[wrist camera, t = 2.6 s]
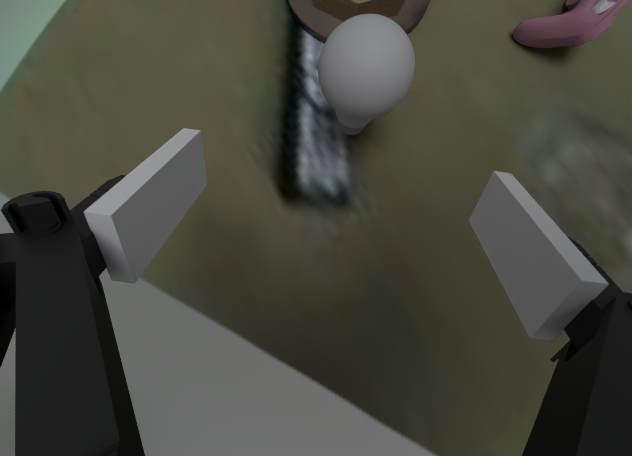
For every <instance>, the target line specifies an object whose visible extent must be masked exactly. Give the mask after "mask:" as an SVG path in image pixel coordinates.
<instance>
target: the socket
mask: <svg viewBox="0 0 632 456" xmlns="http://www.w3.org/2000/svg"><path fill="white" fill-rule="evenodd" d="M429 2H430V0H287V3H288V6H289V8H290V11H291V12H292V14H293V16H294V18H295V19H296V20H297V22H298V23H299V24H300V25H301V26H302V27H303V28H304V29H305V30H306V31H307V32H308V33H309V34H311V35H312V36H313V37H314V38H316V39H318V40H320V41H321V42H323V43H325V42H326V41H327V39H328V37H329V36H330V34H331V33H332V32H333V31H334V30H335V28H336V27H338V26H339V25H340V24H342V23H343V22H344V21H346V20H348V19H350V18H352V17H354V16H357V15H361V14H379V15H382V16H385V17H387V18H389V19H391V20H393V21H394V22H396V23H397V24H398V25H399V26H400V27H401V28H402V29H403V30H404V31H405V33H406V34H408V33H410V32H411V31H412V30H413V29H414V28H415V26H416V25H417V24H418V23H419V21H420V20H421V18H422V17H423V15H424V13H425V11H426V8H427V6H428V4H429Z"/></svg>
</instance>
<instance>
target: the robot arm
mask: <svg viewBox="0 0 632 456" xmlns="http://www.w3.org/2000/svg"><path fill="white" fill-rule="evenodd" d="M206 185H207V181H206V172H205V163H204V155H203V146H202V137H201V131H200V130H193V129H186V128H183V129H182V130H181V131H180V132H178V133H177V134H176V135H175V136H174V137H172V138H171V139H170V140H169V141H168V142H166V143H165V144H164V145H163V146H162V147H160V148H159V149H158V150H157V151H156V152H154V153H153V154H152V155H151V156H150V157H148V158H147V159H146V160H145V161H144V162H142V163H141V164H140V165H139V166H138V167H136V168H135V169H134V170H133V171H132V172H130V173H129V174H128V175H127V176H124V175H120V176H118V177H116V178H113V179H111V180H109V181H107V182H106V183H104V184H103V185H102V186H100V187H99V188H98V190H95V191H94V192H93V193H92V194H90V197H89V196H88V197H86V198H85V199H84V200H83V201H81V202H80V203H79V204H78V205H76V206H75V207H74V208H73V209H71V210H70V211H69V209H68V206H67V204H66V202H65V199H64V198H63V196H62V195H61V194H59V193H56V192H51V191H39V192H32V193H28V194H24V195H20V196H18V197H16V198H13V199H11V200H10V201H8V202H7V203H6V204H4V205H3V207H2V209H1V211H2V213H3V215H4V216H5V218H6V219H7V221H8V223H9V224H10V226H11V228H12V229H13V231H14V233H5V234H0V367H1V365H2V362H3V359H4V357H5V354H6V351H7V349H8V346H9V343H10V341H11V338H12V335H13V333H14V330H15V328H16V403H15V404H16V406H15V408H16V409H15V411H16V414H15V416H16V417H15V425H16V426H15V428H16V429H15V456H145V454H144V450H143V446H142V442H141V438H140V434H139V430H138V426H137V422H136V418H135V414H134V410H133V406H132V402H131V398H130V394H129V390H128V386H127V382H126V378H125V374H124V370H123V366H122V362H121V358H120V354H119V350H118V346H117V342H116V338H115V334H114V331H113V327H112V322H111V318H110V314H109V310H108V307H107V302H106V298H105V294H104V291H103V287H102V283H101V281H100V278H99V275H100V274H101V273H102V272H103V271H104V270H105V269H106V268H107V270H108V273H109V275H110V277H111V280H114V281H121V282H127V283H135V282H136V281H137V280H138V278H139V277H140V276H141V274H142V273H143V272H144V270H145V269H146V267H147V266H148V265H149V263H150V262H151V261H152V259H153V258H154V256H155V255H156V254H157V252H158V251H159V250H160V248H161V247H162V246H163V244H164V243H165V241H166V240H167V239H168V237H169V236H170V235H171V233H172V232H173V230H174V229H175V228H176V226H177V225H178V224H179V222H180V221H181V220H182V218H183V217H184V215H185V214H186V213H187V211H188V210H189V209H190V207H191V206H192V205H193V203H194V202H195V200H196V199H197V198H198V196H199V195H200V194H201V192H202V191H203V189H204V188H205V187H206ZM469 222H470V224H471V226H472V228H473V230H474V232H475V234H476V236H477V238H478V240H479V241H480V243H481V245H482V247H483V249H484V251H485V253H486V255H487V257H488V259H489V261H490V263H491V265H492V266H493V268H494V270H495V272H496V274H497V276H498V278H499V280H500V282H501V284H502V286H503V288H504V290H505V291H506V293H507V295H508V297H509V299H510V301H511V303H512V305H513V307H514V309H515V311H516V313H517V315H518V316H519V318H520V320H521V322H522V324H523V326H524V328H525V330H526V332H527V334H528V336H529V338H533V339H540V340H548V341H554V340H555V338H556V337H557V336H558V335H559V334H560V333H561V332H562V331H563V330H565V332H566V333H567V335H568V336H569V338H570V341H569V342H568V343H567V344H566V345H565V346H564V347H563V348H562V349H561V350H560V351H559V352H557V353H556V354H555V355H554V356H553V357H552V358H551V359H550V360H551V361H553V362H555V361H556V360H557V359H559V360H558V363H557V365H556V368H555V371H554V373H553V376H552V378H551V381H550V384H549V386H548V389H547V392H546V394H545V397H544V399H543V402H542V405H541V407H540V410H539V413H538V415H537V418H536V420H535V423H534V426H533V428H532V431H531V434H530V436H529V439H528V441H527V444H526V447H525V449H524V452H523V455H522V456H632V294H631V293H626V292H625V293H623V292H622V290H621V289H620V288H619V287H618V286H617V285H616V284H615V283H614V282H613V281H612V279H611V278H610V277H609V276H608V275H607V274H606V273H605V272H604V271H603V270H602V268H601V267H600V266H597V263H596V262H595V261H594V260H593V259H592V257H589V256H590V255H589V254H588V253H587V252H586V251H585V250H584V249H583V248H582V246H581V245H579V244H578V243H577V242H575V241H574V240H572V239H571V238H570V237H568V236H567V235H565V234H564V233H563V232H562V231H561V229H560V228H559V227H558V226H557V225H556V224H555V223H554V221H553V220H552V219H551V218H550V217H549V216H548V215H547V214H546V212H545V211H544V210H543V209H542V208H541V207H540V206H539V205H538V203H537V202H536V201H535V200H534V199H533V198H532V197H531V196H530V194H529V193H528V192H527V191H526V190H525V189H524V188H523V186H522V185H521V184H520V183H519V182H518V181H517V180H516V179H515V177H514V176H513V175H512V174H511V173H505V172H498V171H493V173H492V175H491V177H490V179H489V181H488V183H487V185H486V187H485V189H484V191H483V193H482V195H481V197H480V199H479V201H478V203H477V205H476V207H475V209H474V211H473V213H472V215H471V217H470V219H469Z"/></svg>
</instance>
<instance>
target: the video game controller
mask: <svg viewBox="0 0 632 456" xmlns="http://www.w3.org/2000/svg"><path fill="white" fill-rule="evenodd" d="M628 1H629V0H567V1H566V6H567V8H568V10H569V11H568V12H566V13H564V14H561V15H555V16H549V17H540V18H532V19H529V20H526V21H524V22H521V23H520V24H519V25H518V26H517V27H516V28H515V29H514V32H513V37H514V39H515V40H516V41H517V42H519V43H520V44H523V45H525V46H529V47H535V48H551V47H560V46H568V47H575V46H579V45H581V44H584V43H586V42H589V41H592V40H593V39H595V38H596V37H598V36H599V35H600V34H601V33H602V32H603V31H605V30H606V29H607V28H608V27H609V26H610V25H611V24H612V23H613V21H614V19H615V15H616V14H617V13H618V11H619V10H620V9H621V8H622V7H623V6H624V5H625V4H626V3H627V2H628Z"/></svg>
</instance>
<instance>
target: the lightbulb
mask: <svg viewBox="0 0 632 456" xmlns="http://www.w3.org/2000/svg"><path fill="white" fill-rule="evenodd" d="M414 68H415V57H414V51H413V47H412V44H411V42H410V40H409V38H408V36H407V34H406V33H405V31H404V30H403V29H402V28H401V27H400V26H399V25H398V24H397V23H396V22H394V21H393V20H391V19H389V18H387V17H385V16H382V15H379V14H361V15H357V16H354V17H352V18H350V19H348V20H346V21H344V22H343V23H342V24H340V25H339V26H338V27H336V28H335V30H334V31H333V32H332V33H331V34H330V36H329V37H328V39H327V41H326V42H325V44H324V46H323V49H322V52H321V55H320V58H319V65H318V77H319V83H320V86H321V89H322V92H323V95H324V96H325V98H326V100H327V102H328V103H329V104H330V105H331V106H332V107H333V108H334V109H335V110H336V115H337V123H338V127H339V129H340V130H341V131H342V132H343V133H345V134H347V135H357V134H359V133H360V132H362V131H363V129H364V128H365V126H366V124H368V123H369V122H370V121H371V119H375V118H379V117H382V116H383V115H385V114H387V113H389V112H390V111H391V110H393V109H394V108H395V107H396V106H397V105H399V103H400V102H401V101H402V100H403V99H404V97H405V95H406V94H407V92H408V90H409V88H410V86H411V83H412V79H413V75H414Z"/></svg>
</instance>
